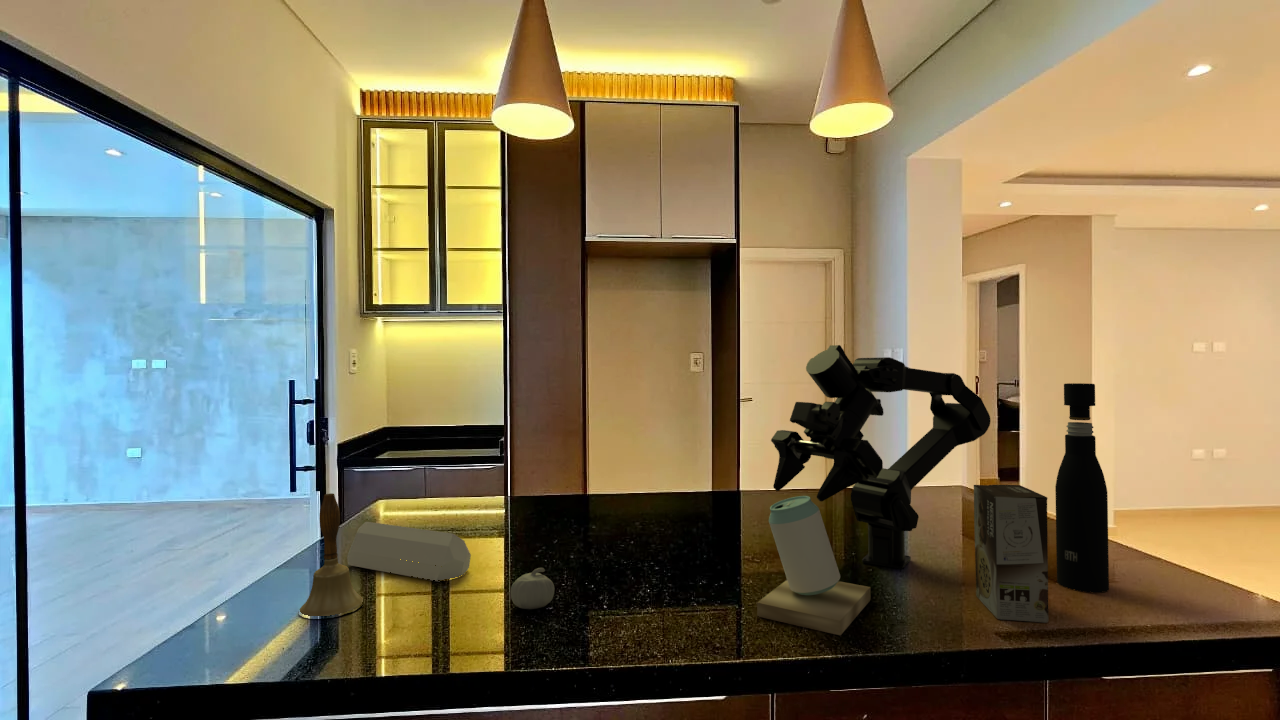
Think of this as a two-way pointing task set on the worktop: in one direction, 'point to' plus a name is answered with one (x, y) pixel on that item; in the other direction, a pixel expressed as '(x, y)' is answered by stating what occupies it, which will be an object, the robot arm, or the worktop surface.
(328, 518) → the hand bell
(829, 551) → the can
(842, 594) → the beige wooden slab
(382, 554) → the crystal
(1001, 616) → the coffee box
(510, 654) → the worktop surface
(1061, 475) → the black bottle
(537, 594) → the grey pumpkin
